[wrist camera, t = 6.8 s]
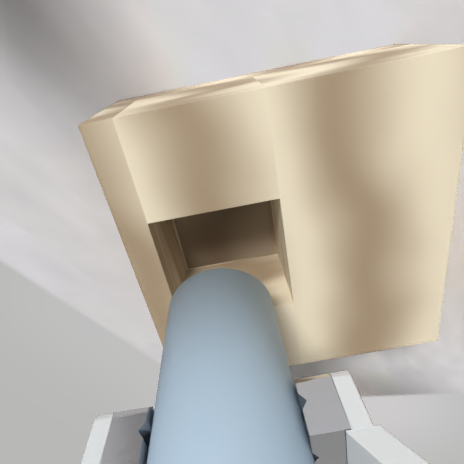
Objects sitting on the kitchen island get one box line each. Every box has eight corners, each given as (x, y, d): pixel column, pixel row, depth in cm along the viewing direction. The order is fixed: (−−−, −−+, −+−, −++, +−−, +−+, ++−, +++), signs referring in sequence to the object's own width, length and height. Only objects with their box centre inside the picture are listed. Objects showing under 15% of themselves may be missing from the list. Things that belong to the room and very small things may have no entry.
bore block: (395, 44, 17) (476, 44, 12) (387, 274, 24) (437, 340, 19) (117, 101, 18) (77, 125, 13) (185, 311, 24) (178, 385, 19)
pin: (265, 258, 13) (403, 746, 4) (278, 340, 14) (392, 797, 6) (156, 279, 13) (43, 802, 4) (183, 357, 15) (148, 833, 6)
